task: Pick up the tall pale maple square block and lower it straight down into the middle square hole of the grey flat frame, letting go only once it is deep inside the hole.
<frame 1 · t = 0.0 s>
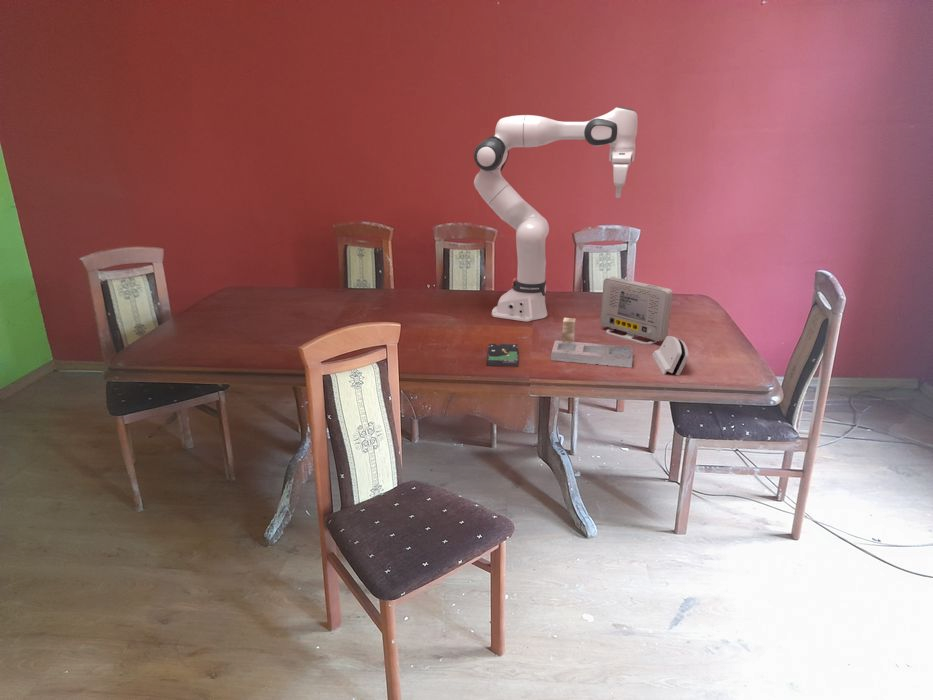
hand: (618, 195, 218), 48 cm above the table, tool pointing down, fingers open, 8 cm apart
network device: (631, 336, 220), on the table
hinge: (669, 365, 195), on the table
grey flat frame: (591, 357, 201), on the table
maple block: (567, 343, 213), on the table
disk drive: (502, 359, 201), on the table
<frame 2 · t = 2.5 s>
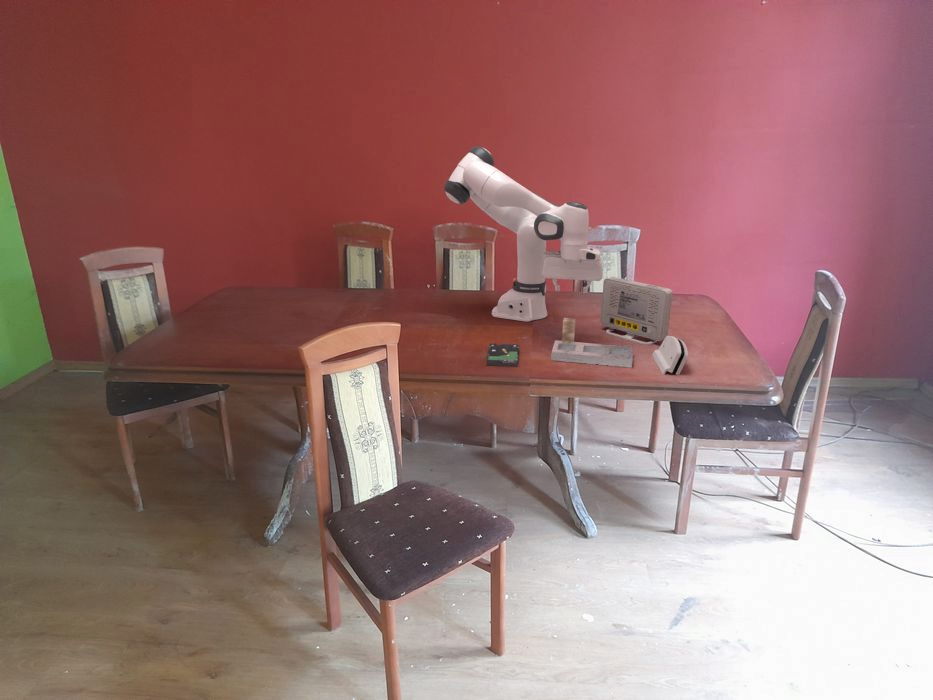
hand: (571, 291, 206), 19 cm above the table, tool pointing down, fingers open, 8 cm apart
nothing on the table moved.
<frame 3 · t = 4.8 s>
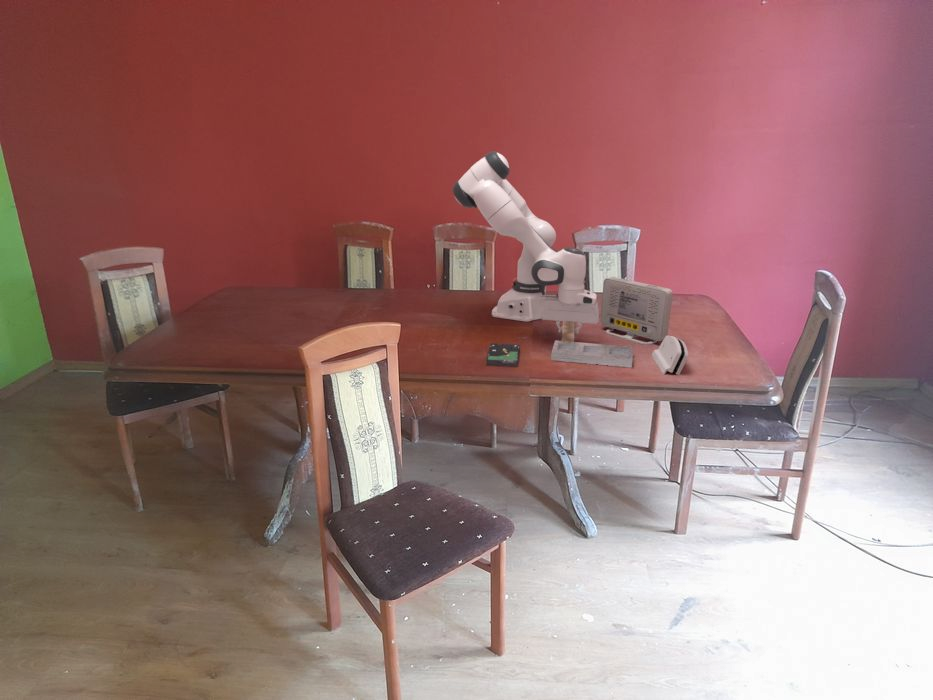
hand: (568, 332, 211), 4 cm above the table, tool pointing down, fingers closed on maple block, 4 cm apart
maple block: (567, 343, 213), on the table, touching gripper
everything else where it was.
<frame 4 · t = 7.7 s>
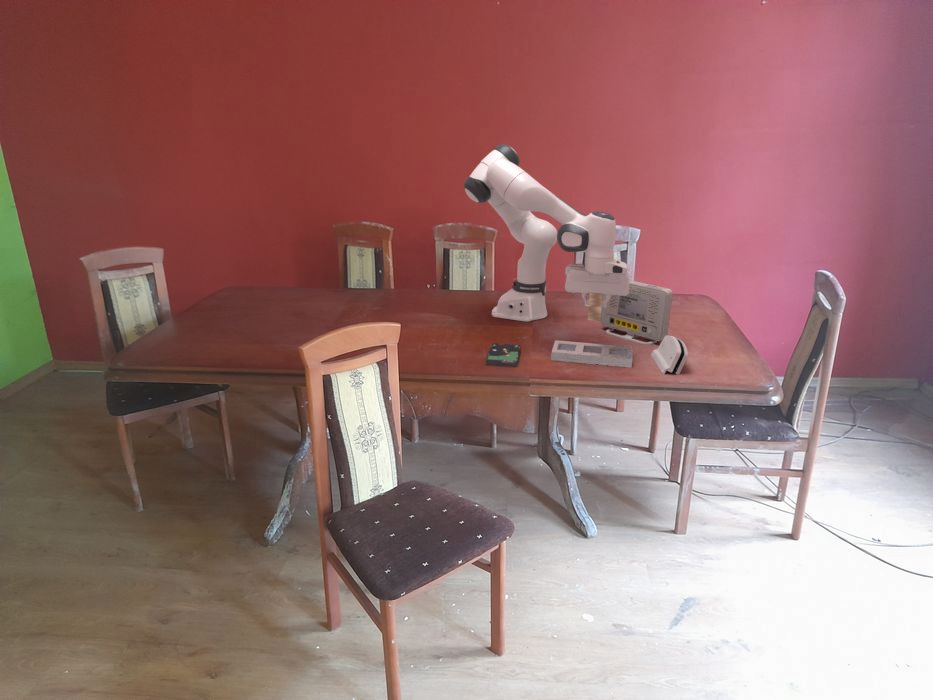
hand: (595, 306, 194), 18 cm above the table, tool pointing down, fingers closed on maple block, 4 cm apart
maple block: (594, 318, 196), point 14 cm above the table, touching gripper
everything else where it was.
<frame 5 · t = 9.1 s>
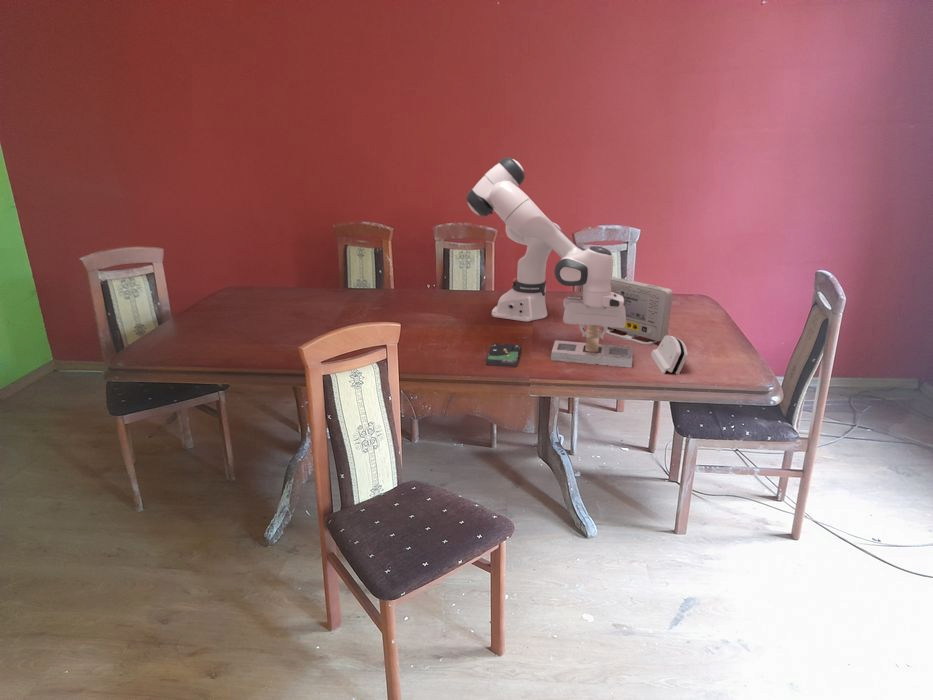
hand: (592, 337, 198), 7 cm above the table, tool pointing down, fingers closed on maple block, 4 cm apart
maple block: (591, 349, 200), point 3 cm above the table, touching gripper
everything else where it was.
when the fingers open (5 cm above the table, at t = 10.5 s): maple block stays where it is, resting in grey flat frame.
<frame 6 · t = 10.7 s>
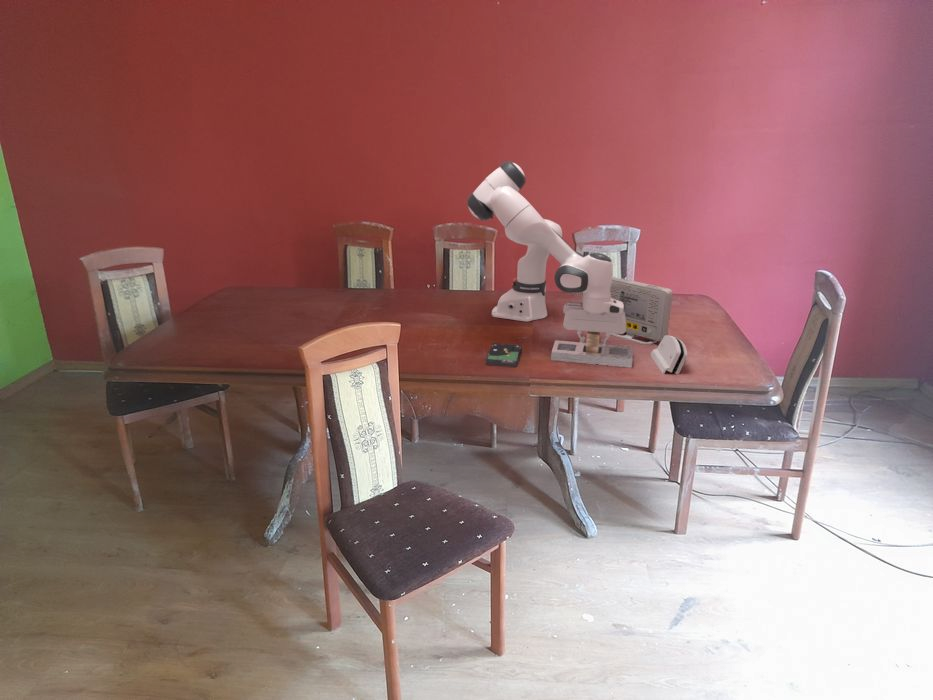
hand: (592, 343, 199), 5 cm above the table, tool pointing down, fingers open, 5 cm apart
maple block: (591, 357, 201), resting in grey flat frame
everything else where it was.
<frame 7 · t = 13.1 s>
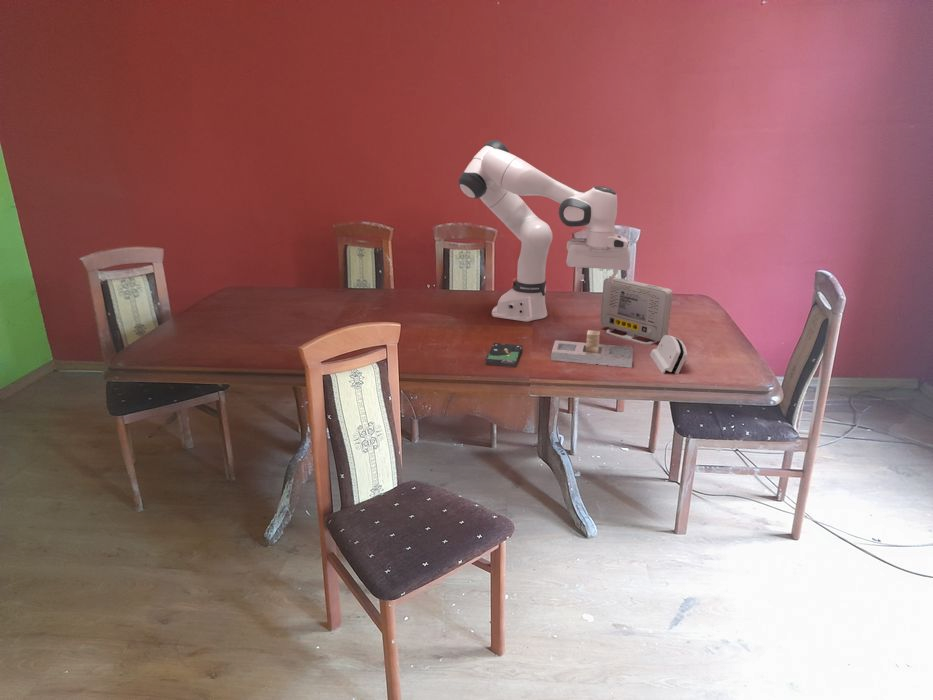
hand: (595, 281, 197), 25 cm above the table, tool pointing down, fingers open, 8 cm apart
nothing on the table moved.
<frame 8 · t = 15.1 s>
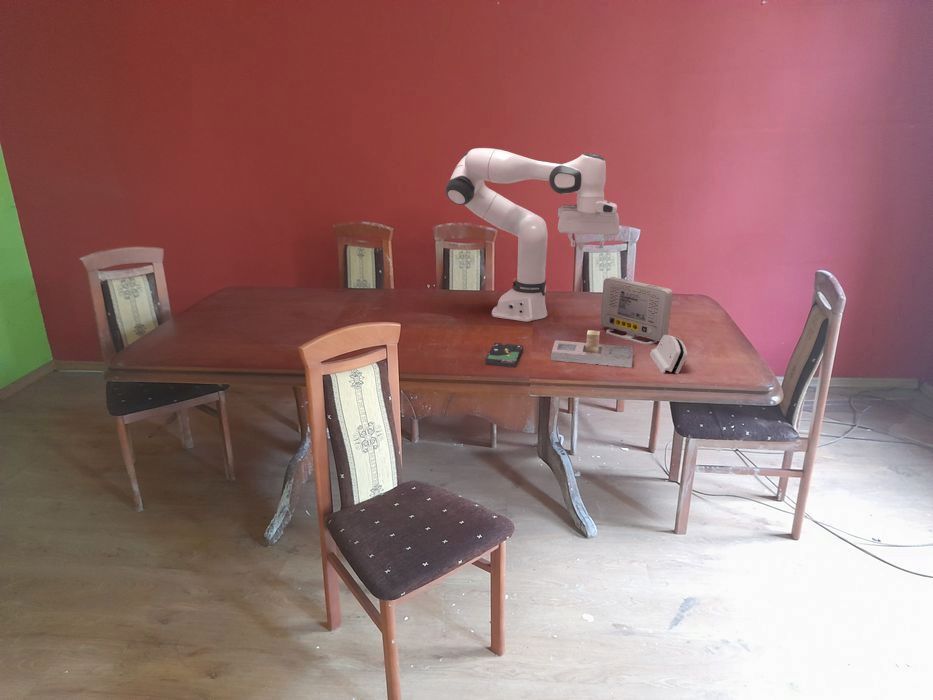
hand: (586, 246, 203), 34 cm above the table, tool pointing down, fingers open, 8 cm apart
at the end: maple block 0.1 cm off-centre on the grey flat frame, point 0.0 cm above the grey flat frame's base; maple block tilted 0°; the gripper is holding nothing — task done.
